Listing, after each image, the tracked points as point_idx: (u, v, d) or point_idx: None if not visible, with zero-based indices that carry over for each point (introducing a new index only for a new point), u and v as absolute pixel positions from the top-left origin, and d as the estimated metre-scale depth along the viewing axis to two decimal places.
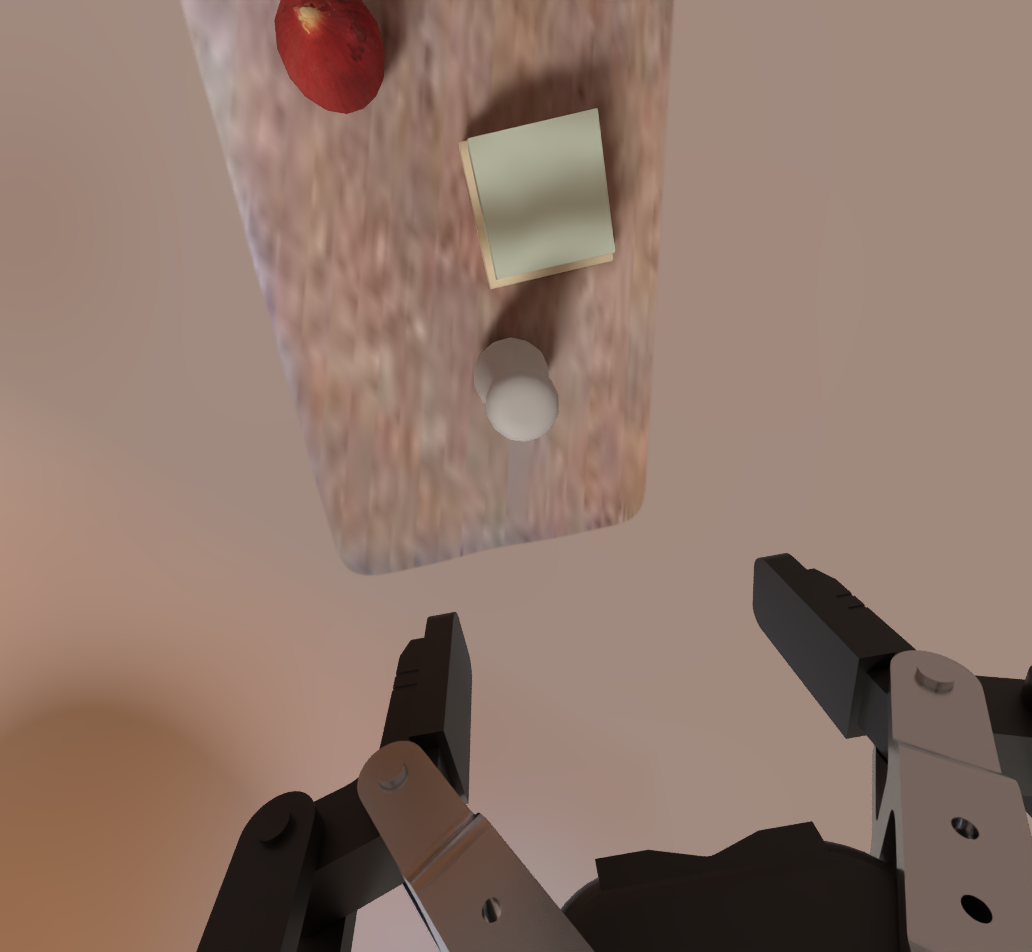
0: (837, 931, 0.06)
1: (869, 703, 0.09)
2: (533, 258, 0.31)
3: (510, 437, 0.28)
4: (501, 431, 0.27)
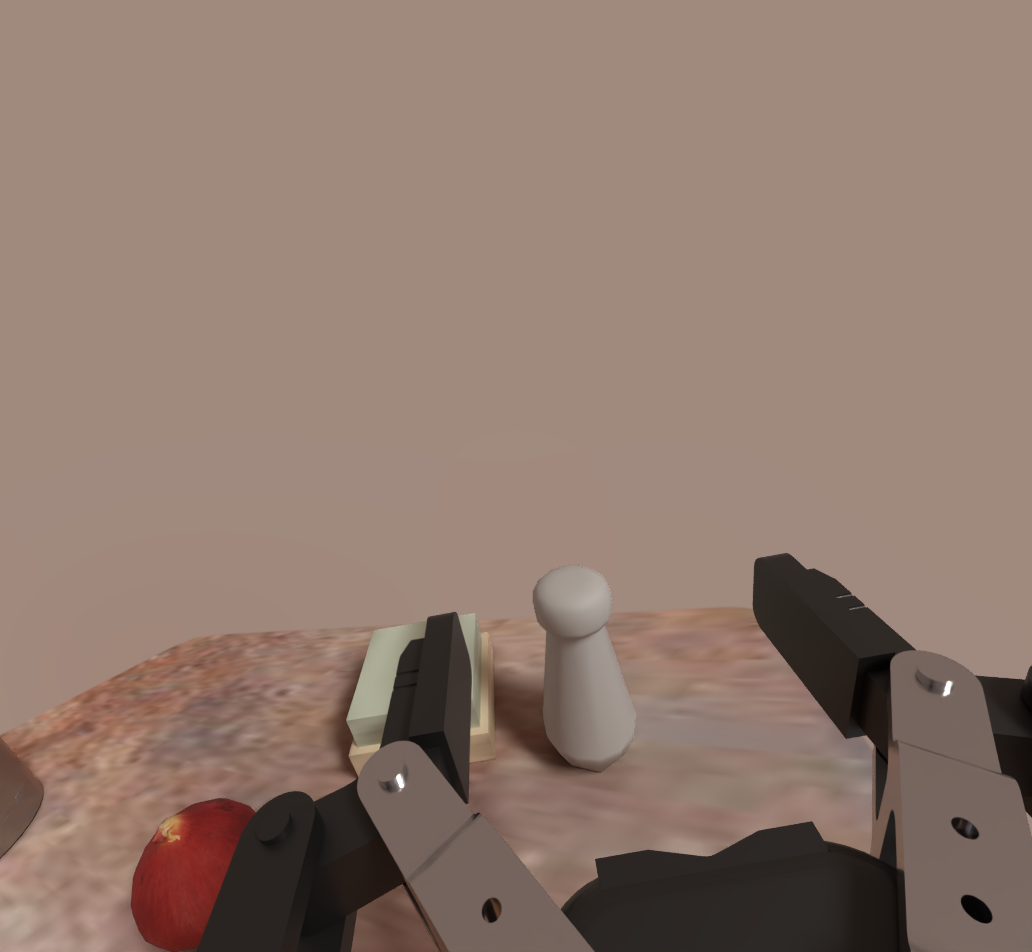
0: (837, 931, 0.06)
1: (869, 703, 0.09)
2: None
3: (602, 594, 0.25)
4: (595, 601, 0.24)
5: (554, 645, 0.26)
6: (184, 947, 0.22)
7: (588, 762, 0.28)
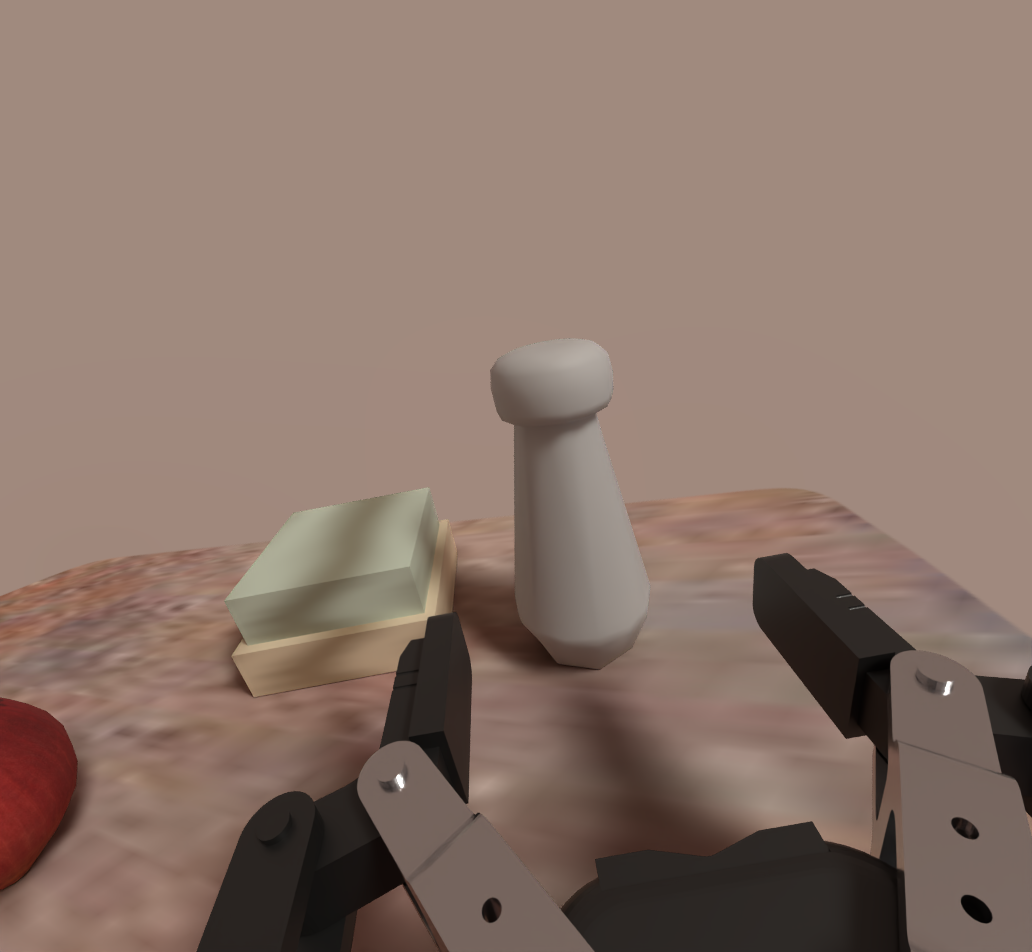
0: (837, 931, 0.06)
1: (869, 703, 0.09)
2: (402, 537, 0.22)
3: (597, 353, 0.15)
4: (585, 358, 0.15)
5: (525, 453, 0.17)
6: None
7: (580, 646, 0.18)
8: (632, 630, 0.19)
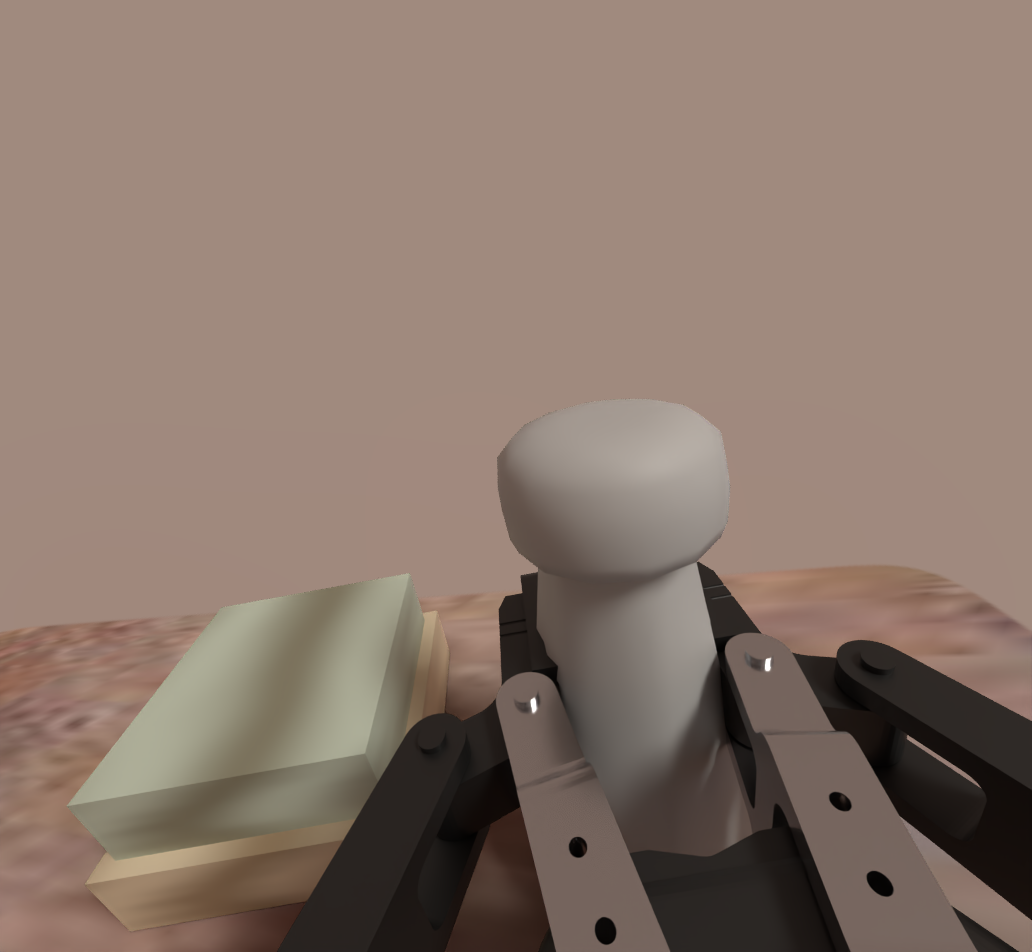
0: None
1: None
2: (361, 679, 0.15)
3: (711, 440, 0.08)
4: (693, 456, 0.07)
5: (560, 610, 0.09)
6: None
7: None
8: None
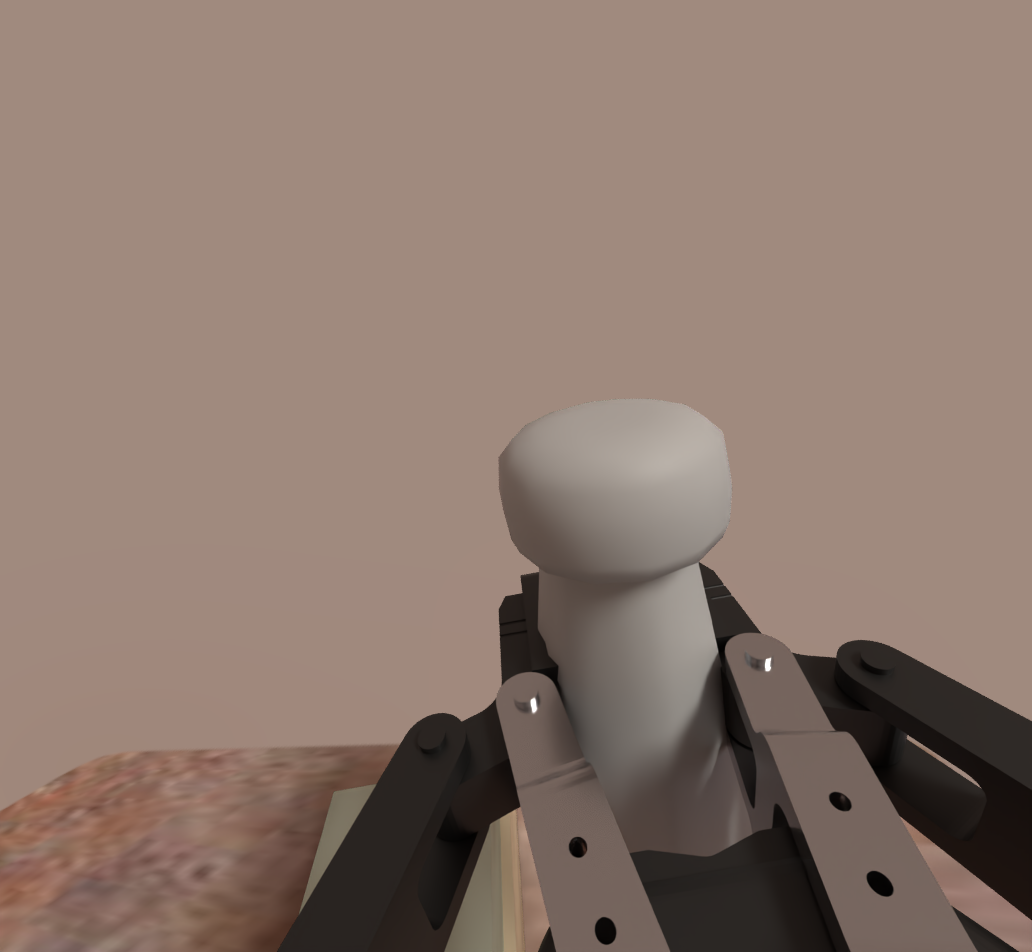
0: None
1: None
2: (473, 895, 0.19)
3: (713, 440, 0.08)
4: (695, 455, 0.07)
5: (563, 610, 0.09)
6: None
7: None
8: None
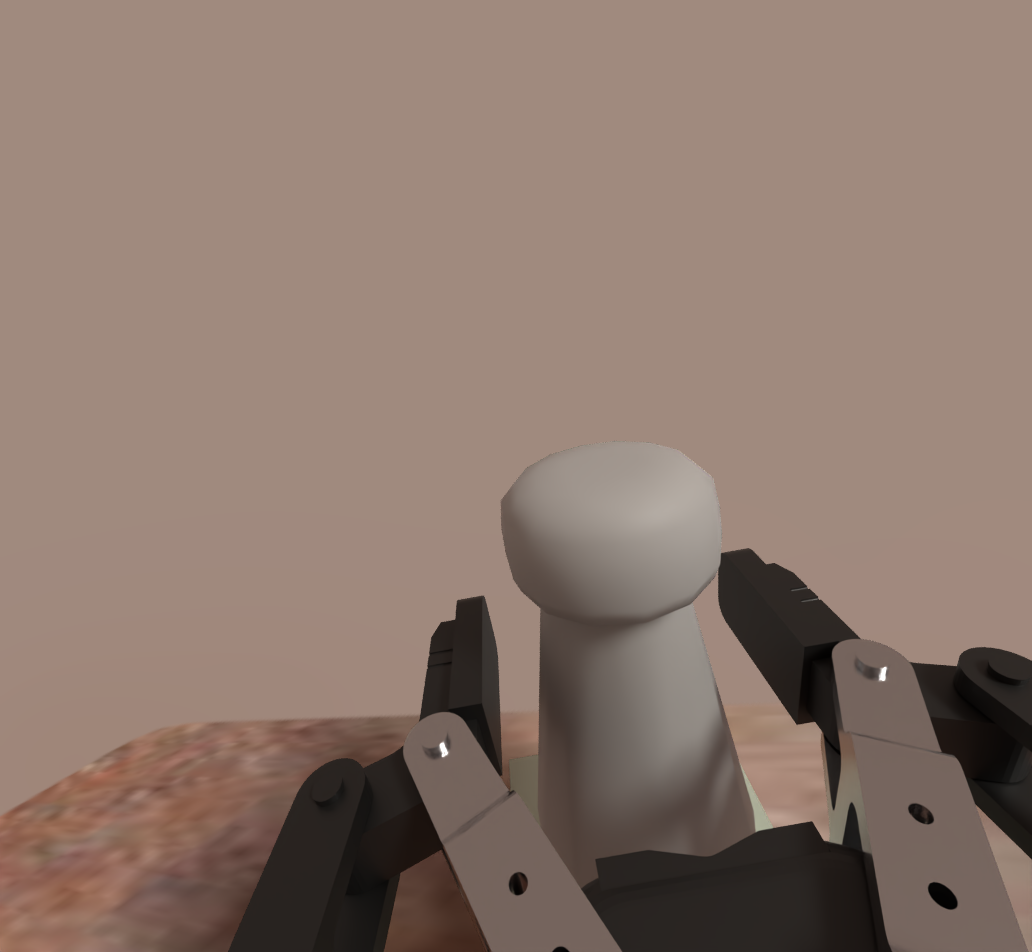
0: (837, 931, 0.06)
1: (815, 690, 0.09)
2: None
3: (703, 489, 0.08)
4: (686, 506, 0.08)
5: (562, 646, 0.10)
6: None
7: None
8: None
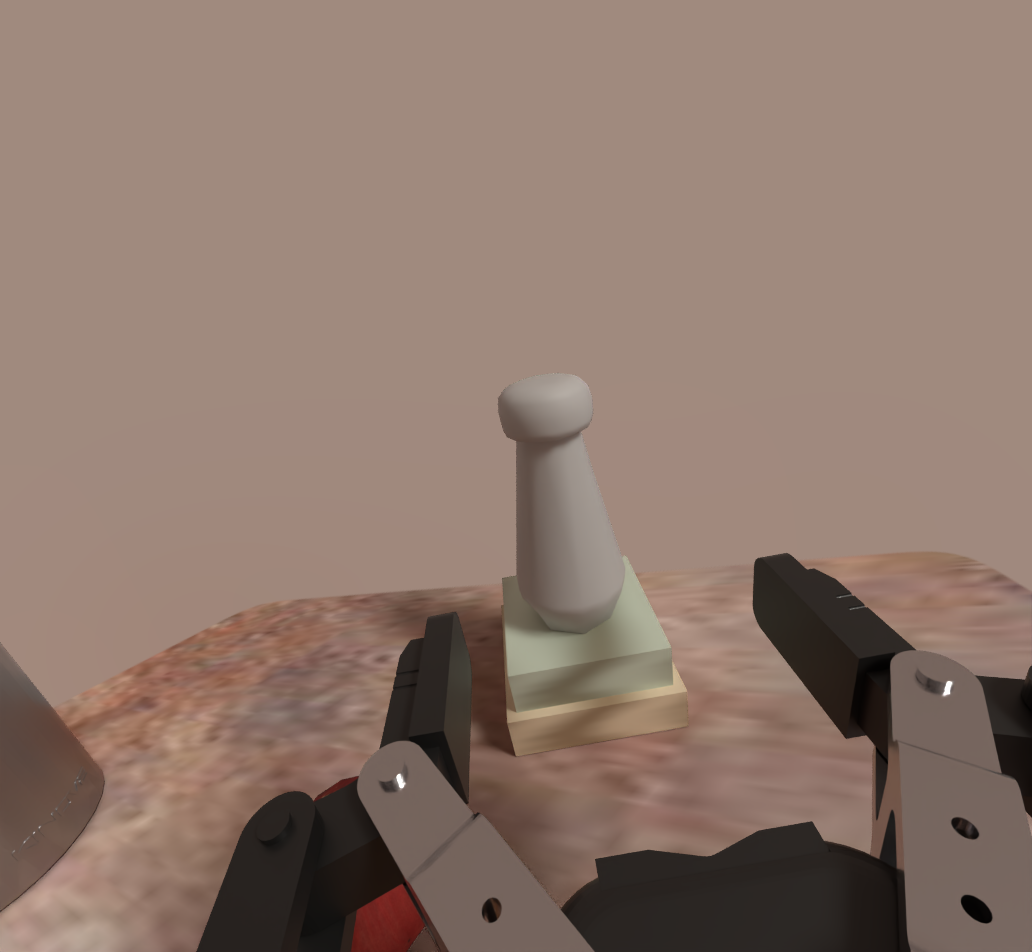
0: (837, 931, 0.06)
1: (869, 703, 0.09)
2: (640, 614, 0.25)
3: (580, 387, 0.20)
4: (570, 391, 0.20)
5: (525, 462, 0.22)
6: None
7: (568, 613, 0.23)
8: (609, 601, 0.24)
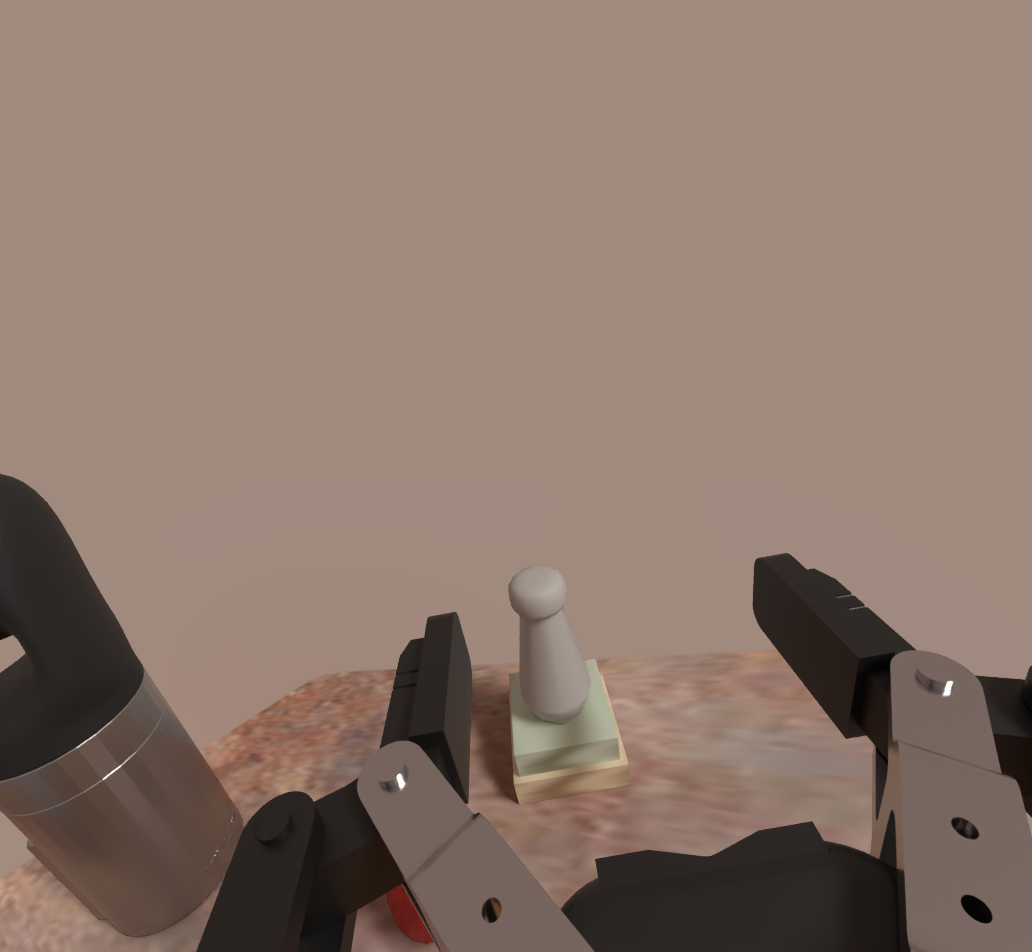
0: (837, 931, 0.06)
1: (869, 703, 0.09)
2: (600, 710, 0.38)
3: (558, 586, 0.34)
4: (552, 591, 0.33)
5: (525, 625, 0.35)
6: None
7: (552, 715, 0.36)
8: (579, 706, 0.37)
